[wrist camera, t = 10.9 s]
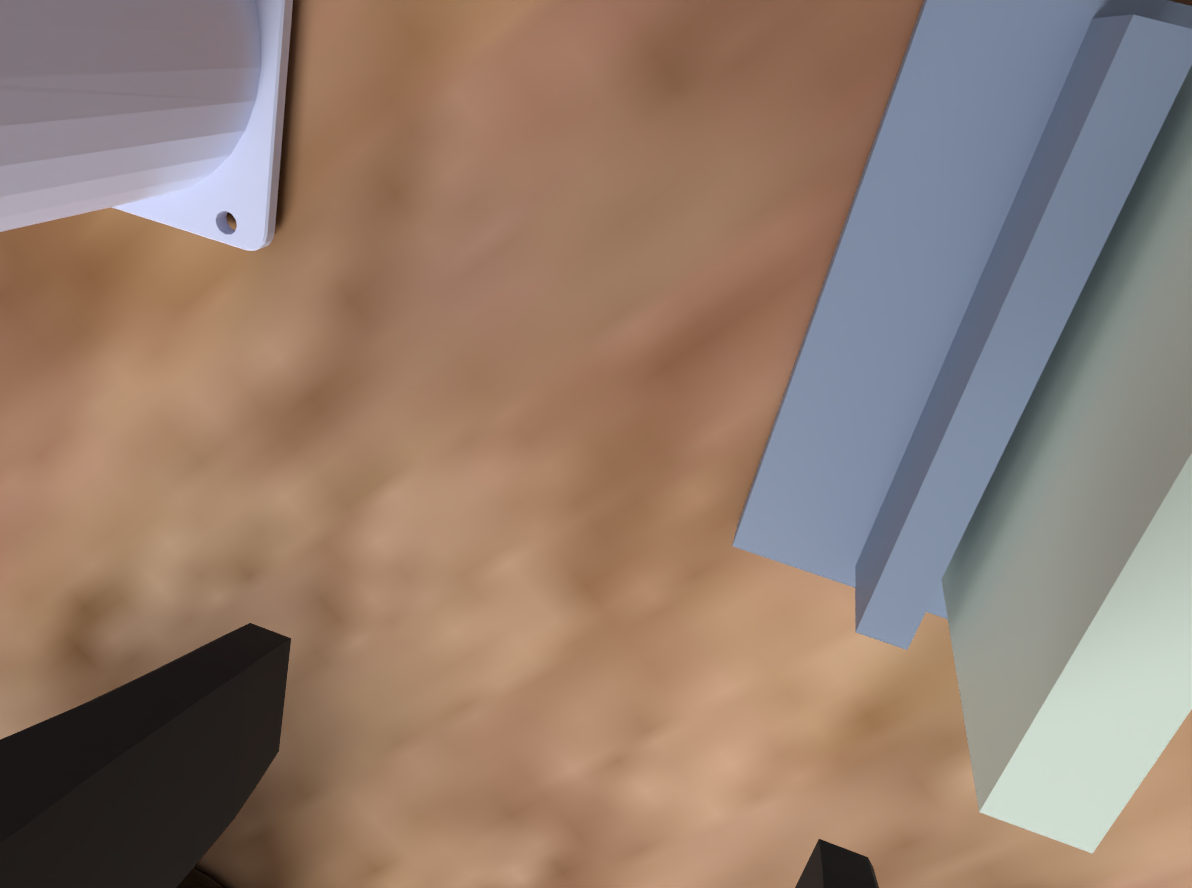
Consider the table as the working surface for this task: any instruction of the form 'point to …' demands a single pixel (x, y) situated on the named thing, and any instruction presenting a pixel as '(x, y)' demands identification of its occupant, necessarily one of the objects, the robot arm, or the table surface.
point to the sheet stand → (956, 284)
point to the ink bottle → (198, 881)
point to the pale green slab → (1090, 537)
